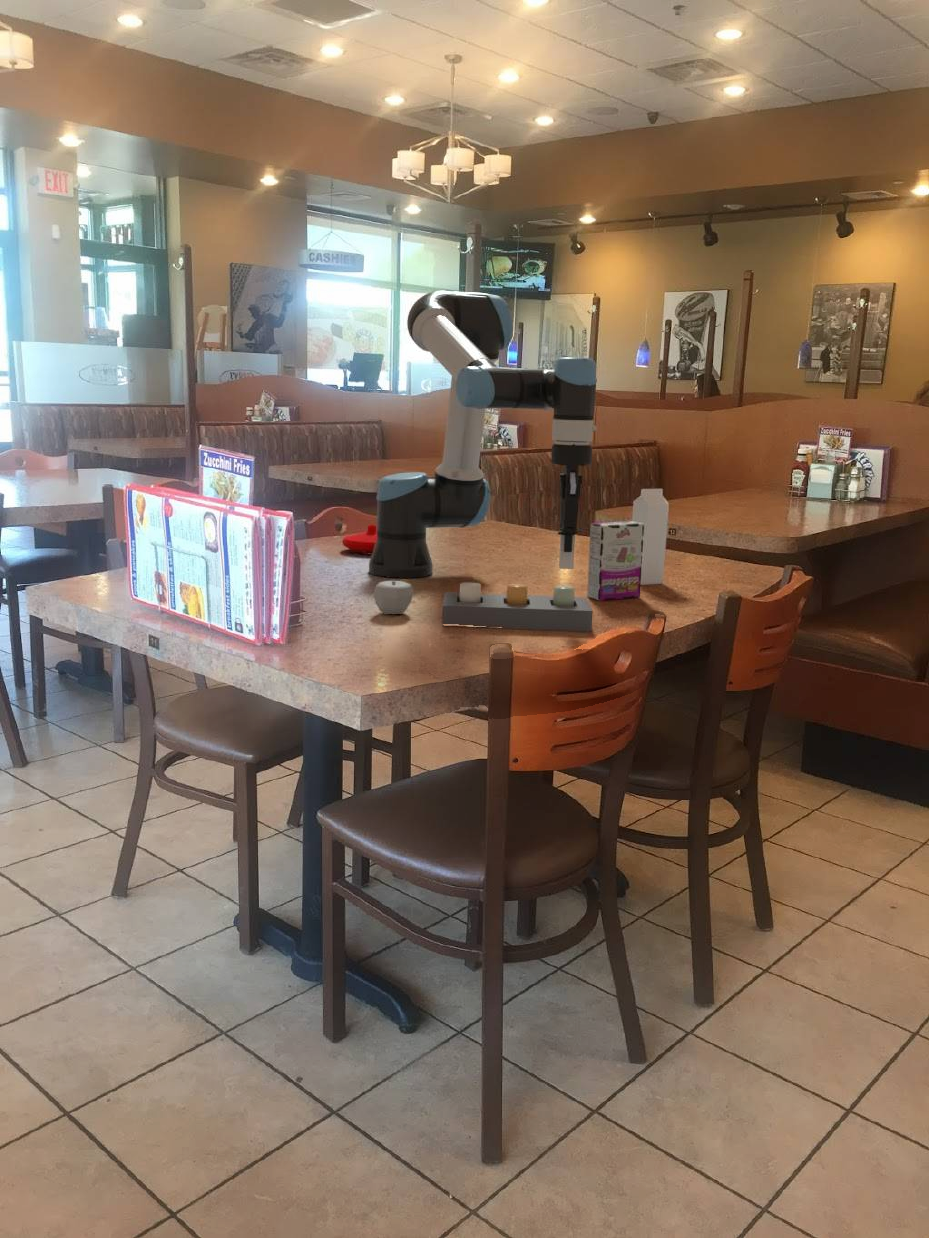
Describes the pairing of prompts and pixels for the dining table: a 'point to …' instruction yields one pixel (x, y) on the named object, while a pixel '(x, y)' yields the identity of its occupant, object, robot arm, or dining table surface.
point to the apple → (393, 596)
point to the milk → (652, 533)
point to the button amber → (516, 594)
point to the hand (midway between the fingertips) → (566, 568)
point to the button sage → (563, 596)
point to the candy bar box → (615, 560)
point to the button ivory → (470, 592)
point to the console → (518, 613)
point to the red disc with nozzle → (362, 540)
